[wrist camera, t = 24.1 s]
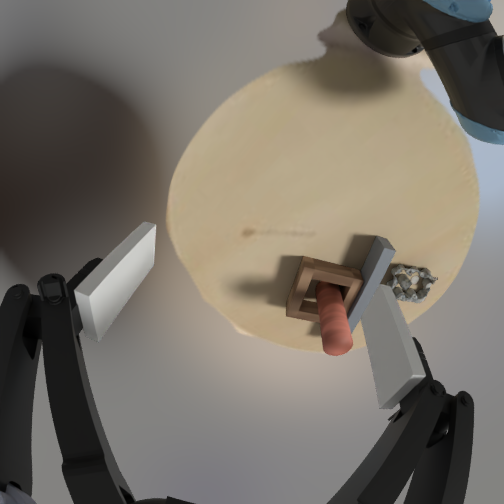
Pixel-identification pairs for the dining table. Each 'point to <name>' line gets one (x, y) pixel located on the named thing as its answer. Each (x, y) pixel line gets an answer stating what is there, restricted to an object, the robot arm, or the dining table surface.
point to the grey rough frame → (406, 283)
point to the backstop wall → (370, 278)
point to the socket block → (323, 272)
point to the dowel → (333, 319)
